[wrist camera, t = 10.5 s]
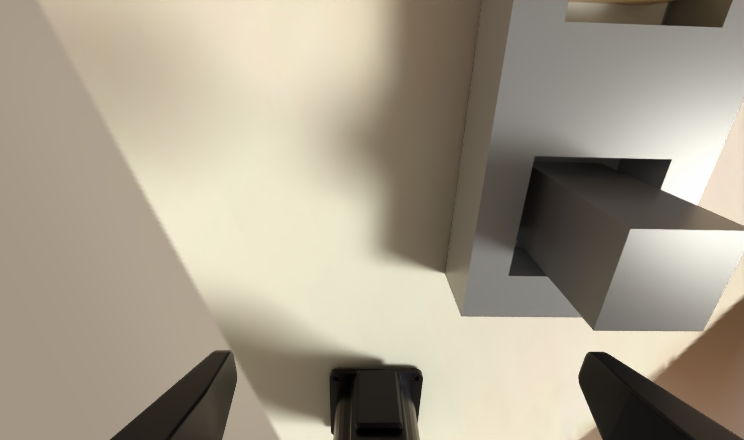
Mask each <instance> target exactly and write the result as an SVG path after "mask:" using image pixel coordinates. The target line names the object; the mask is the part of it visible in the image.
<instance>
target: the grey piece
mask: <svg viewBox="0 0 744 440" xmlns="http://www.w3.org/2000/svg"><path fill="white" fill-rule="evenodd" d="M743 100H744V0H676V1H671V2H665V3H660V4H654V5H649V6H644V5H623V4H602V3H582V2H569V0H482V3H481V11H480V18H479V26H478V33H477V41H476V48H475V55H474V63H473V70H472V78H471V85H470V93H469V100H468V108H467V115H466V122H465V130H464V137H463V145H462V152H461V160H460V167H459V175H458V182H457V190H456V197H455V204H454V212H453V219H452V227H451V234H450V242H449V249H448V257H447V264H446V271H445V275H446V278H447V280H448V283H449V285H450V288H451V291H452V293H453V296H454V298H455V301H456V304H457V306H458V309H459V311H460V314H461V316H484V317H582V316H581V315H580V314H579V313H578V311H577V310H576V309H575V308H574V307H573V306H572V304H571V303H570V302H569V301H568V300H567V299H566V297H565V296H564V295H563V294H562V293H561V291H560V290H559V289H558V288H557V287H556V286H555V284H554V283H553V282H552V281H551V280H550V279H549V277H548V276H547V275H546V274H545V273H544V271H543V270H542V269H541V268H540V267H539V266H538V264H537V263H536V262H535V261H534V260H533V259H532V257H531V256H530V255H529V254H528V253H527V251H526V250H525V249H524V248H523V247H522V246H521V244H520V243H519V242H518V241H517V240H516V239H517V234H518V230H519V225H520V221H521V216H522V212H523V207H524V202H525V198H526V193H527V189H528V184H529V180H530V175H531V171H532V166H533V162H534V161H535V162H578V163H601V164H604V165H606V166H608V167H610V168H613V169H615V170H617V171H620V172H622V173H624V174H626V175H629V176H631V177H633V178H635V179H638V180H640V181H642V182H645V183H647V184H649V185H651V186H654V187H656V188H658V189H661V190H663V191H665V192H667V193H670V194H672V195H674V196H677V197H679V198H681V199H683V200H686V201H688V202H690V203H692V204H695V205H698V203H699V201H700V199H701V196H702V194H703V192H704V189H705V187H706V185H707V182H708V180H709V178H710V176H711V173H712V171H713V169H714V166H715V164H716V162H717V159H718V157H719V155H720V153H721V150H722V148H723V146H724V143H725V141H726V139H727V136H728V134H729V132H730V130H731V127H732V125H733V123H734V120H735V118H736V116H737V113H738V111H739V109H740V107H741V104H742V102H743Z"/></svg>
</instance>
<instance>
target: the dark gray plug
mask: <svg viewBox="0 0 744 440" xmlns="http://www.w3.org/2000/svg"><path fill="white" fill-rule="evenodd" d="M516 240H517V241H518V242H519V243H520V244H521V246H522V247H523V248H524V249H525V250H526V251H527V253H528V254H529V255H530V256H531V257H532V259H533V260H534V261H535V262H536V263H537V264H538V266H539V267H540V268H541V269H542V270H543V271H544V273H545V274H546V275H547V276H548V277H549V279H550V280H551V281H552V282H553V283H554V284H555V286H556V287H557V288H558V289H559V290H560V291H561V293H562V294H563V295H564V296H565V297H566V299H567V300H568V301H569V302H570V303H571V304H572V306H573V307H574V308H575V309H576V310H577V311H578V313H579V314H580V315H581V316H582V317H583V319H584V320H585V321H586V322H587V323H588V324H589V326H590V327H591V328H592V329H593V330H594V331H703V330H704V328H705V326H706V324H707V322H708V320H709V318H710V317H711V315H712V313H713V311H714V309H715V307H716V305H717V303H718V301H719V299H720V297H721V296H722V294H723V292H724V290H725V288H726V286H727V284H728V282H729V280H730V278H731V276H732V274H733V273H734V271H735V269H736V267H737V265H738V263H739V261H740V259H741V257H742V255H743V253H744V226H743V225H740V224H738V223H736V222H733V221H731V220H729V219H727V218H724V217H722V216H720V215H718V214H715V213H713V212H711V211H708V210H706V209H704V208H702V207H699V206H697V205H695V204H692V203H690V202H688V201H686V200H683V199H681V198H679V197H677V196H674V195H672V194H670V193H667V192H665V191H663V190H661V189H658V188H656V187H654V186H651V185H649V184H647V183H645V182H642V181H640V180H638V179H635V178H633V177H631V176H629V175H626V174H624V173H622V172H620V171H617V170H615V169H613V168H610V167H608V166H606V165H604V164H601V163H578V162H535V161H534V162H533V166H532V171H531V175H530V180H529V184H528V189H527V193H526V198H525V202H524V207H523V212H522V216H521V221H520V225H519V230H518V234H517V239H516Z"/></svg>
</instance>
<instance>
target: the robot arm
mask: <svg viewBox="0 0 744 440" xmlns="http://www.w3.org/2000/svg"><path fill="white" fill-rule="evenodd" d="M337 376H338V377H337ZM414 376H416V377H414ZM578 379H579V384H580V387H581V389H582V392H583V394H584V397H585V399H586V401H587V404H588V406H589V409H590V411H591V413H592V416H593V418H594V421H595V423H596V425H597V428H598V430H599V432H600V435H601V437H602V439H603V440H744V439H742V438H741V437H739V436H737V435H736V434H734V433H733V432H731V431H729V430H728V429H726V428H725V427H723V426H722V425H720V424H718V423H717V422H715V421H714V420H712V419H710V418H709V417H707V416H705V415H704V414H703V413H701V412H699V411H698V410H696V409H695V408H693V407H691V406H690V405H688V404H687V403H685V402H684V401H682V400H680V399H679V398H677V397H676V396H674V395H672V394H671V393H669V392H668V391H666V390H665V389H663V388H661V387H660V386H658V385H657V384H655V383H653V382H652V381H650V380H649V379H647V378H646V377H644V376H642V375H641V374H639V373H638V372H636V371H635V370H633V369H631V368H630V367H628V366H627V365H625V364H623V363H622V362H620V361H619V360H617V359H616V358H614V357H612V356H611V355H609V354H607V353H605V352H588V353H587V354H586V356H585V358H584V361H583V364H582V367H581V369H580V372H579V377H578ZM236 382H237V372H236V366H235V360H234V355H233V352H232V351H230V350H216V351H214V352H212V353H211V354H210V355H209V356H208V357H206V358H205V359H204V360H203V361H202V362H200V363H199V364H198V365H197V366H196V367H195V368H193V369H192V370H191V371H190V372H189V373H188V374H186V375H185V376H184V377H183V378H182V379H181V380H179V381H178V382H177V383H176V384H175V385H173V386H172V387H171V388H170V389H169V390H168V391H166V392H165V393H164V394H163V395H162V396H161V397H159V398H158V399H157V400H156V401H155V402H154V403H152V404H151V405H150V406H149V407H148V408H147V409H145V410H144V411H143V412H142V413H141V414H140V415H138V416H137V417H136V418H135V419H134V420H133V421H131V422H130V423H129V424H128V425H127V426H125V427H124V428H123V429H122V430H121V431H120V432H118V433H117V434H116V435H115V436H114V437H113V438H112V439H110V440H222V438H223V434H224V430H225V426H226V422H227V418H228V414H229V410H230V406H231V403H232V398H233V395H234V391H235V387H236ZM422 382H423V376H422V372H421V371H420V370H419V369H334V370H332V371H331V373H330V409H331V433H332V434H333V435H334V438H333V440H420V438H419V431H418V424H417V423H418V415H419V407H420V398H421V390H422Z"/></svg>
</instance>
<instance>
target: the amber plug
mask: <svg viewBox="0 0 744 440" xmlns="http://www.w3.org/2000/svg"><path fill="white" fill-rule="evenodd" d="M671 1H676V0H569V2H582V3H602V4H623V5H644V6H649V5H654V4H660V3H665V2H671Z"/></svg>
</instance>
